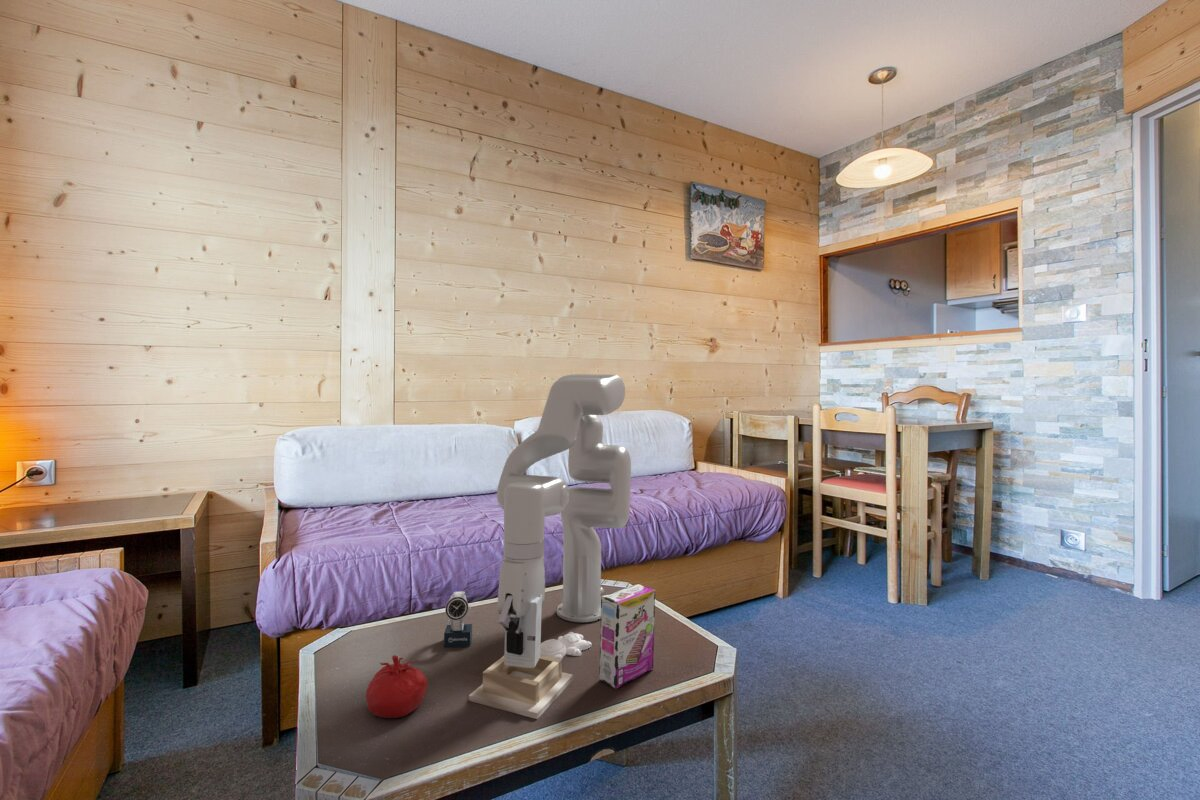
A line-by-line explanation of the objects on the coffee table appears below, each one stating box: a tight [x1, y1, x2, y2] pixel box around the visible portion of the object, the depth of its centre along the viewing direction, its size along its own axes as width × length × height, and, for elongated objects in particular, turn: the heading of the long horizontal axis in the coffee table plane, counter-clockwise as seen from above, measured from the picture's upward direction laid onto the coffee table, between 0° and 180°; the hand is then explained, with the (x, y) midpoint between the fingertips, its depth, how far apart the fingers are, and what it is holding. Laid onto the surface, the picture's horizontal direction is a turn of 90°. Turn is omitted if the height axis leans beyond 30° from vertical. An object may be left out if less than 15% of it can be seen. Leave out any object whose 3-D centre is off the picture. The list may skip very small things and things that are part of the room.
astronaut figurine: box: [540, 631, 592, 660], centre depth 119 cm, size 9×12×3 cm
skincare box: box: [503, 595, 543, 668], centre depth 102 cm, size 6×4×12 cm
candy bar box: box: [598, 584, 656, 689], centre depth 108 cm, size 11×5×16 cm, turn 134°
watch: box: [443, 591, 473, 649], centre depth 122 cm, size 6×8×11 cm
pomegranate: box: [365, 654, 428, 719], centre depth 96 cm, size 10×10×9 cm
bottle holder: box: [468, 655, 574, 720], centre depth 103 cm, size 14×14×4 cm
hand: (523, 645), depth 102 cm, fingers closed on skincare box, 5 cm apart
